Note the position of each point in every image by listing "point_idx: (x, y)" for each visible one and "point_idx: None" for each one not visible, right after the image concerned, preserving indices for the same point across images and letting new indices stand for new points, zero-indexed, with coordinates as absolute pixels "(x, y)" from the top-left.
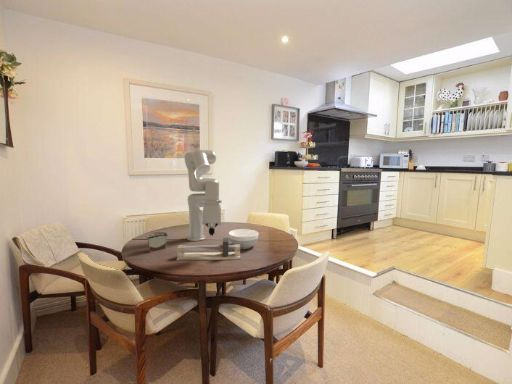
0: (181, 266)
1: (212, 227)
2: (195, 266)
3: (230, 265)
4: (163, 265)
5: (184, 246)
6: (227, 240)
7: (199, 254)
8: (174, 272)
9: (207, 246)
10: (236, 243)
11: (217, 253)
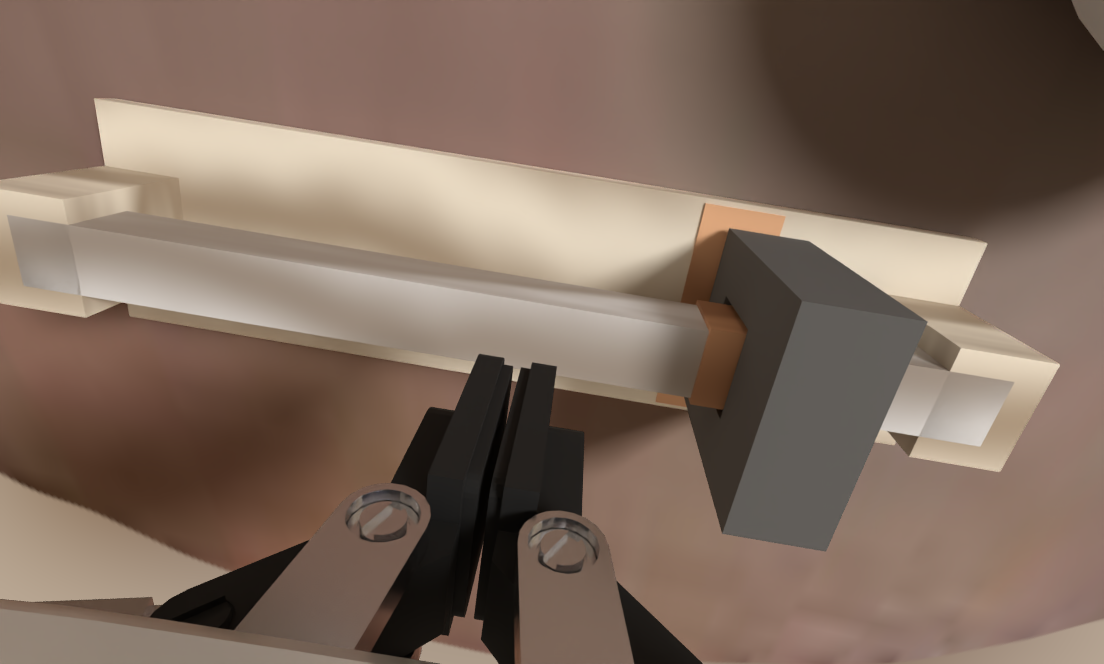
0: (246, 466)
1: (492, 638)
2: None
3: (718, 552)
4: (64, 405)
5: (87, 264)
6: (837, 480)
7: (384, 227)
8: (221, 562)
9: (466, 346)
10: (1096, 41)
11: (636, 244)
